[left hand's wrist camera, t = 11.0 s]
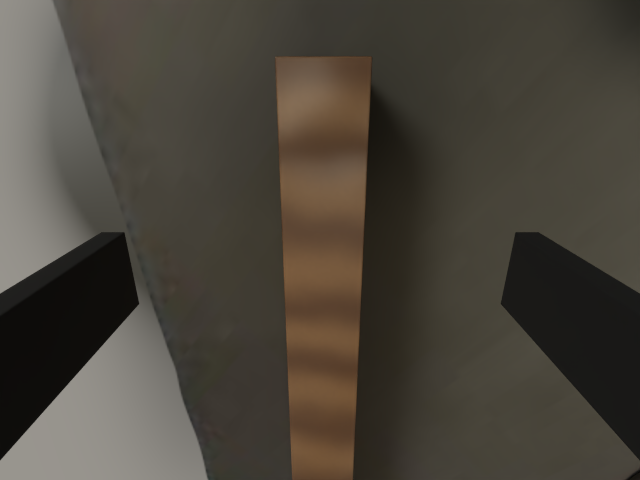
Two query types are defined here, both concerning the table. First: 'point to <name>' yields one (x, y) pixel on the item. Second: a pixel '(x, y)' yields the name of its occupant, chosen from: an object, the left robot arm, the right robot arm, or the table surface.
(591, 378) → the left robot arm
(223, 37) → the table surface
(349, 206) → the beam
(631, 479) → the right robot arm
